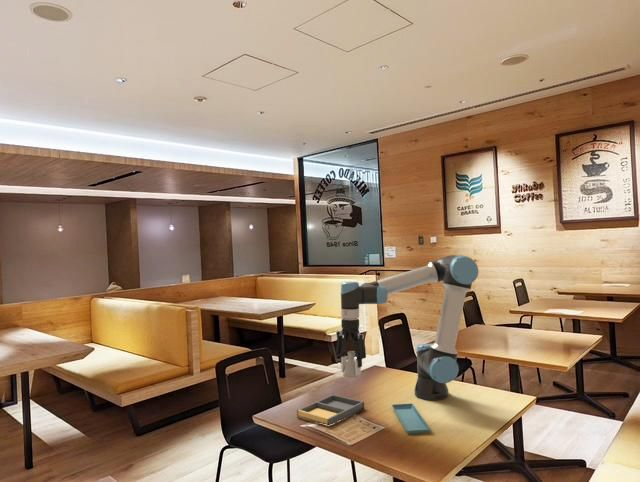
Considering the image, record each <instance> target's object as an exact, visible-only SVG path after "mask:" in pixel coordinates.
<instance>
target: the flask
mask: <svg viewBox="0 0 640 482" xmlns="http://www.w3.org/2000/svg"><path fill="white" fill-rule="evenodd" d="M346 353H347V363H346V366H345V369H344V372H343V373H342V376H343V377H344V378H345V377H346V378H358V377H359V376H360V375H361V374H360V375H358V376H356V375H355V360H356V358H355V351H354V350H349V351H346Z"/></svg>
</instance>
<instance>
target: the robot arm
mask: <svg viewBox="0 0 640 482" xmlns="http://www.w3.org/2000/svg"><path fill="white" fill-rule="evenodd" d="M478 276H479V266H478V263H476V261H475V260H474V259H472V257H469V256H465V255H462V254H459V255H456V254H455V255H453V254H452V255H451V254H450V255H447V256H444V257H442V258H439V259H436V260H434V261H433V260H432V261H430V262H428V264H427V265H425V266H422V267H418V268H414V269H412V270H411V269H410V270H409V271H405V272H401V273H398V274H394V275H391V276H387V277H385V278H381V279H377V280H374V281H372V282H364V283H362V284H360V283H359V282H358V281H344V282H342V283H341V284H340V285H341V286H340V306H341V309H340V310H341V312H340V315H341V318H342V319H341V320H340V321H341V324H340V326H341V329H342V330H337V331H336V347H335V348H336V350H335V354H336V355H338V356H339V363H340V364H341V374H343V372H344V369H345V366H346V363H347V359H348V355H347V354H346V353H347V348H348V345H349V342H350V343H351V344H352V347H353V351H354V352H355V353H354V355H355V357H356V358H355V375H356V376H358V375H362V371H361V368H362V367H363V359H366V358H367V352H366V342H365V339H366V334H365V333H361V332H360V331H359V328H360V319H359V318H360V305H383V304H386V303H387V302H388V299H389V298H388V296H389V295H391V294H392V295H393V294H395V293H397V292H398V293H399V292H401V291H405V290H409V289H412V288H415V287H418V286H422V285H425V284H428V283H432V282H434V283H439V282H442V284H443V286H444V288H445V290H444V295H443V298H442V304H441V310H440V314H439V320H438V323H437V324H438V325H437V329H436V333H435V337H434V338H435V340H434V343H422V344H418V345H417V346H416V352H415V353H416V362H417V363H416V364H417V365H416V366H417V367H416V368H417V370H416V371H417V380H416V382H415V386H414V396H415V397H417V398H419V399H422V400H428V401H439V400H444V399H445V400H446V399H447V398H449V396H450V395H449V388H448V386H447V384H448V383H451V382H452V381H454V380H455V379H456V378H457V376H458V375H459V364H458V362H457V358H458V351H457V349H456V344H457V339H458V335H459V329H460V325H461V320H462V314H463V309H464V305H465V300H466V295H467V293H468V292H470V291H471V289H472V285H473V283H474V282H475V281H476V280H477V278H478ZM358 377H359V376H358Z"/></svg>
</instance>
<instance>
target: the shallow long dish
mask: <svg viewBox="0 0 640 482" xmlns="http://www.w3.org/2000/svg"><path fill="white" fill-rule="evenodd" d="M391 407H392V409H393V411H394V413H395V414H396V416H397V418H398V420H399V422H400V423H401V425H402V426H403V428H404V430H405V432H406V433H407V434H408V435H417V434H418V435H419V434H429V433H430V431H431V428H430V426H429V425H428V423H427V422H426V421H425V420H424V418H423V416H422V414H420V412H419V410H418V409H417V408H416V406H415V405H414V404H413V403H399V404H398V403H397V404H391Z"/></svg>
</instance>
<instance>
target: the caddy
mask: <svg viewBox="0 0 640 482" xmlns="http://www.w3.org/2000/svg"><path fill="white" fill-rule="evenodd" d="M363 410H365V402H364V401H361V400H358V399H354V398H349V397H345V396H342V395H338V394H337V395H336V394H331V395H328V396H326V397H324V398H321V399H319V400H316V401H315V402H313V403H309V404H308V405H306V406H303V407H301V408H299V409H297V410H296V418H298V419H301V420H304V421H308V422H311V423H314V422H317V423H323V424H327V425H330V424H333V423H335V422H337V421H339V420H342V419H344V418H346V417H348V416H350V415H352V416H354V415H355V414H357V413H360V412H361V411H363ZM353 414H354V415H353ZM350 417H351V416H350ZM348 418H349V417H348ZM346 419H347V418H346ZM344 420H345V419H344ZM342 421H343V420H342ZM317 423H316V424H317Z"/></svg>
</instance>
